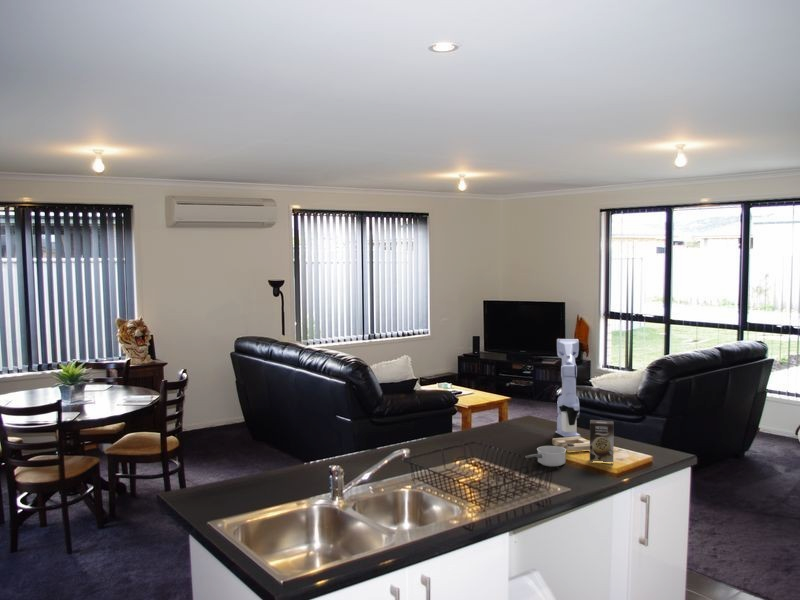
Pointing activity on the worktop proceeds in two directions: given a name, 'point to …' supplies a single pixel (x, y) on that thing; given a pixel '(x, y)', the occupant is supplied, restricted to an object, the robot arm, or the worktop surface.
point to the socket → (572, 443)
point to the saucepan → (550, 455)
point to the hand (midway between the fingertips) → (569, 423)
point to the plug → (565, 423)
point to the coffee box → (601, 440)
